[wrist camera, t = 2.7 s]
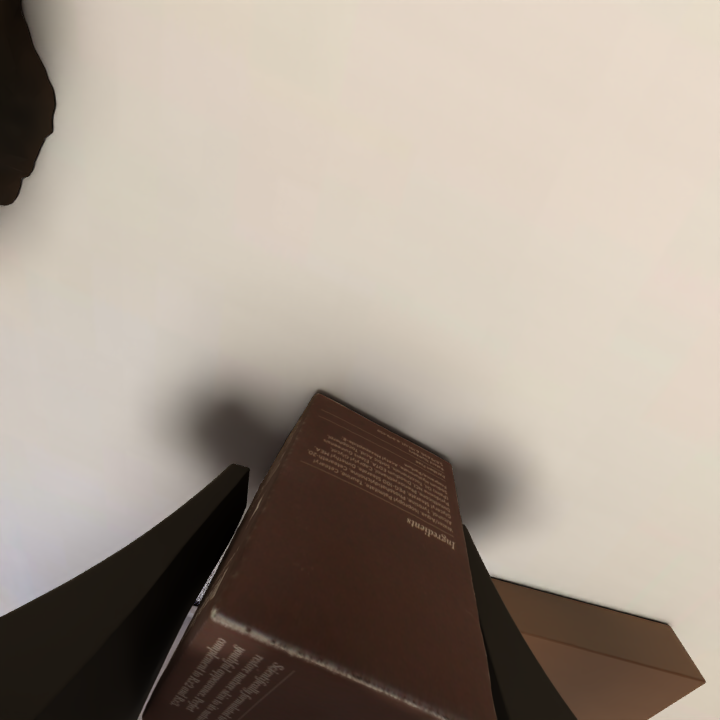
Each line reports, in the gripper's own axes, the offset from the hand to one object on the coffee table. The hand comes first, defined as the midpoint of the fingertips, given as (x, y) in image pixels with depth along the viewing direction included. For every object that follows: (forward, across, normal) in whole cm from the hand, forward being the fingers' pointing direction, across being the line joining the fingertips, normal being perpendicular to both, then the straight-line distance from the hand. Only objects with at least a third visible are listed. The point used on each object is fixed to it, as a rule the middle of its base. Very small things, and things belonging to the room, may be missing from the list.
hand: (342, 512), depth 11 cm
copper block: (+2, -11, +9) cm, 14 cm away
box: (+2, 0, 0) cm, 2 cm away
